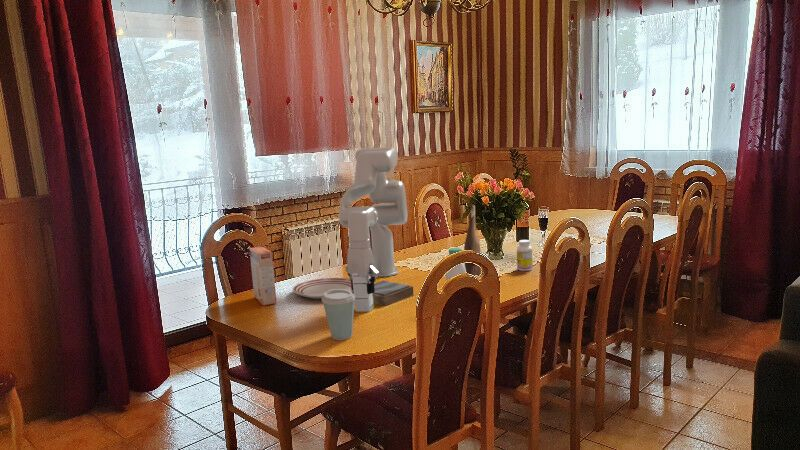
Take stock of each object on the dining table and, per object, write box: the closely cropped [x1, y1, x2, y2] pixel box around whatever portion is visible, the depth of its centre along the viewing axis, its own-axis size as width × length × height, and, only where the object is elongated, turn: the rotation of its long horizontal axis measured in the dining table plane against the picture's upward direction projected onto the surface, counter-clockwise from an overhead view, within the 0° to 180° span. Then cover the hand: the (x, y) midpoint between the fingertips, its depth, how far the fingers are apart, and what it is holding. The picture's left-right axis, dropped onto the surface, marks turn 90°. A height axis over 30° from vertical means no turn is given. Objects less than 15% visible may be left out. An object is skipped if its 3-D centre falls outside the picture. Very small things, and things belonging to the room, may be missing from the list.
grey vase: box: [463, 204, 482, 276], centre depth 246 cm, size 11×12×32 cm
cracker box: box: [249, 246, 277, 307], centre depth 235 cm, size 14×6×21 cm, turn 27°
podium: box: [373, 280, 414, 307], centre depth 232 cm, size 16×16×4 cm
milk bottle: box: [445, 247, 466, 281], centre depth 220 cm, size 8×8×20 cm
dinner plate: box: [292, 277, 354, 300], centre depth 243 cm, size 27×27×3 cm
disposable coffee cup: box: [321, 289, 355, 341], centre depth 190 cm, size 11×11×15 cm
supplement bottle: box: [516, 239, 533, 272], centre depth 260 cm, size 7×7×13 cm
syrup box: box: [352, 273, 375, 313], centre depth 217 cm, size 6×6×14 cm
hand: (363, 291), depth 217 cm, fingers closed on syrup box, 7 cm apart
